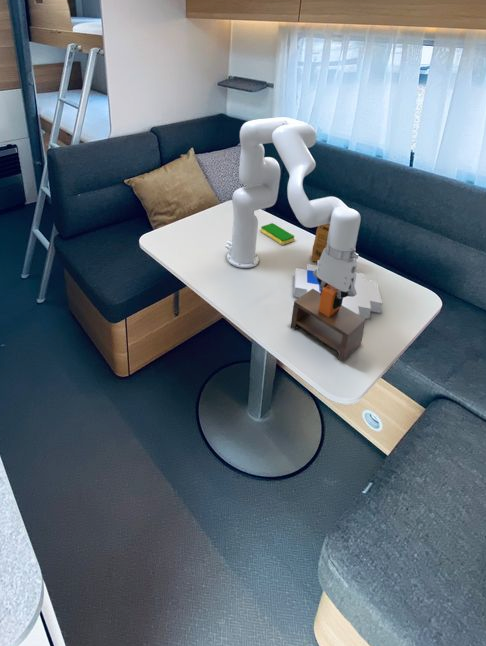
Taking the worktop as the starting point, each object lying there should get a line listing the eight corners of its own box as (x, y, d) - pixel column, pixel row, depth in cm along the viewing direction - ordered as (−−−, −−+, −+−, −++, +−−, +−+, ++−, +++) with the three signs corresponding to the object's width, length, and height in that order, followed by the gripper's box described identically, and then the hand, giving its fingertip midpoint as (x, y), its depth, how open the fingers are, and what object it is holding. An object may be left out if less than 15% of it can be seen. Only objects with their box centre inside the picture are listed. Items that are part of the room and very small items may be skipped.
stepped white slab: (294, 302, 135) (296, 256, 160) (293, 311, 136) (295, 265, 161) (386, 319, 128) (373, 269, 153) (384, 329, 129) (371, 277, 154)
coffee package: (319, 250, 172) (326, 203, 164) (347, 263, 163) (356, 214, 156) (306, 259, 165) (314, 211, 157) (335, 273, 157) (345, 222, 149)
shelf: (290, 326, 129) (294, 301, 126) (308, 313, 135) (312, 288, 132) (342, 362, 117) (348, 335, 113) (360, 345, 123) (366, 319, 119)
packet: (318, 310, 122) (322, 288, 119) (329, 302, 126) (333, 280, 123) (328, 317, 119) (332, 294, 117) (339, 308, 123) (343, 286, 120)
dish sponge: (282, 245, 175) (283, 240, 174) (260, 231, 186) (260, 226, 185) (294, 240, 178) (294, 236, 177) (271, 227, 189) (272, 222, 188)
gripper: (374, 258, 112) (363, 312, 118) (321, 234, 123) (313, 284, 130) (361, 268, 107) (349, 324, 114) (307, 242, 119) (299, 293, 125)
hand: (330, 302), depth 122 cm, fingers closed on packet, 3 cm apart
